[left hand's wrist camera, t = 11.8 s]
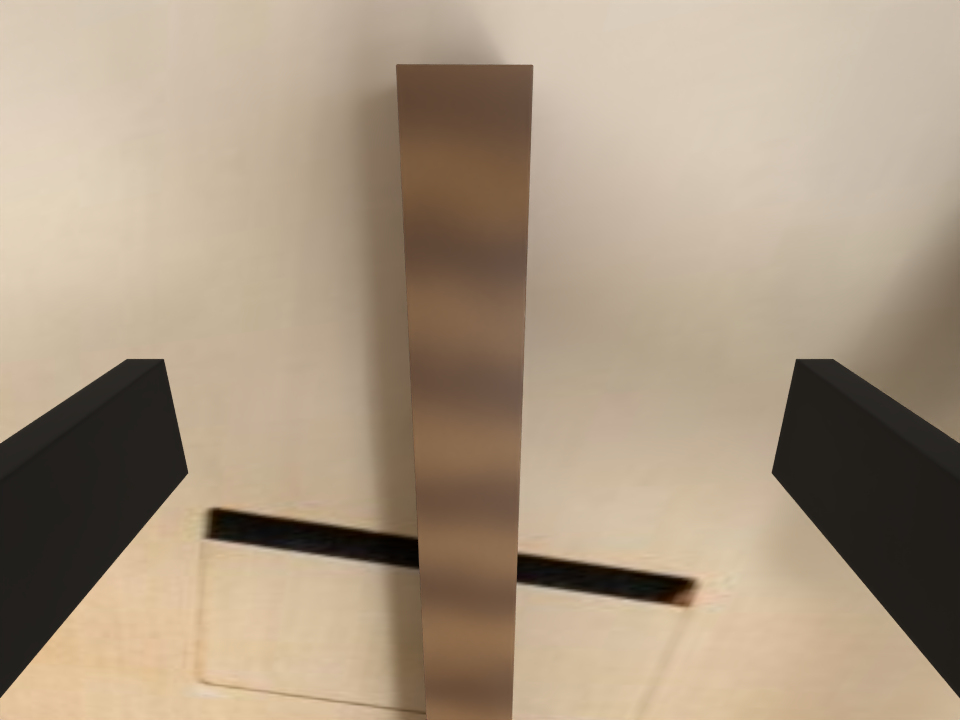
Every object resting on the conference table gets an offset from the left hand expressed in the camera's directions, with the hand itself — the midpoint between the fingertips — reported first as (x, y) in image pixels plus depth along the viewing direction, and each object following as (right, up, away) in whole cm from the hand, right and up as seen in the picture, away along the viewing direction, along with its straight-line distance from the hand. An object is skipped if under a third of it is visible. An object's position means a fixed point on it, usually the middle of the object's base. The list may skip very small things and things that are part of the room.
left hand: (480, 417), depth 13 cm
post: (-1, -24, +31) cm, 39 cm away
